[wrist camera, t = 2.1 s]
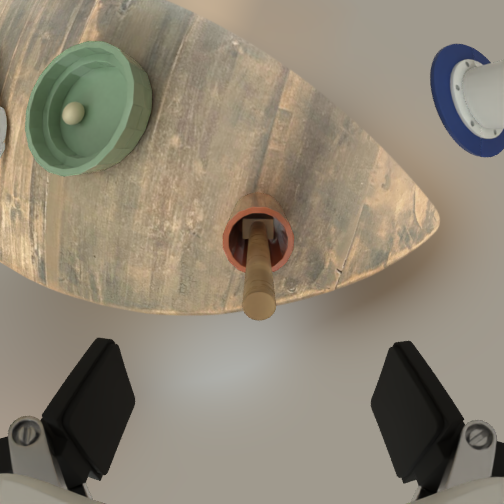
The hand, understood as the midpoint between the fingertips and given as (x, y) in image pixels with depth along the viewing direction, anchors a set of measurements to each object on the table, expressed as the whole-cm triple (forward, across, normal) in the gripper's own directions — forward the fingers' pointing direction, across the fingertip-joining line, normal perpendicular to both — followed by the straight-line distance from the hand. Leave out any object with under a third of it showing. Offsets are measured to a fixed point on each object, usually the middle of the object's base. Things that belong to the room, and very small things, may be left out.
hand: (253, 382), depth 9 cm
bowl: (+26, +20, -14) cm, 35 cm away
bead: (+24, +22, -14) cm, 35 cm away
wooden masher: (+25, 0, 0) cm, 25 cm away
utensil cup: (+26, 0, 0) cm, 26 cm away
